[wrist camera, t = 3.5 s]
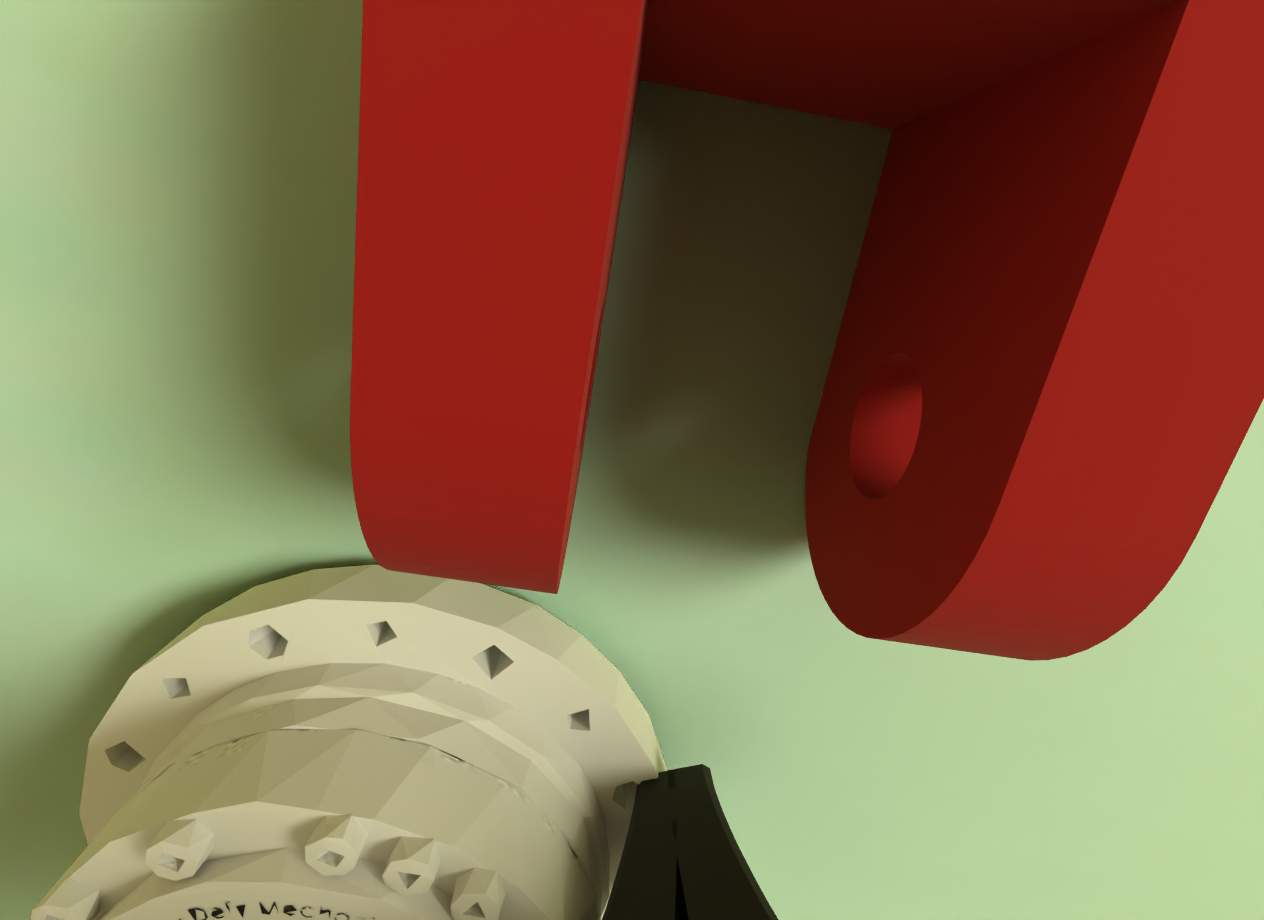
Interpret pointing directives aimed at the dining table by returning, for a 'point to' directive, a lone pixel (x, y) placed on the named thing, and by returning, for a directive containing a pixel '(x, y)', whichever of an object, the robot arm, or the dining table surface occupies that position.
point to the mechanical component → (362, 762)
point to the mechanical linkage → (878, 299)
